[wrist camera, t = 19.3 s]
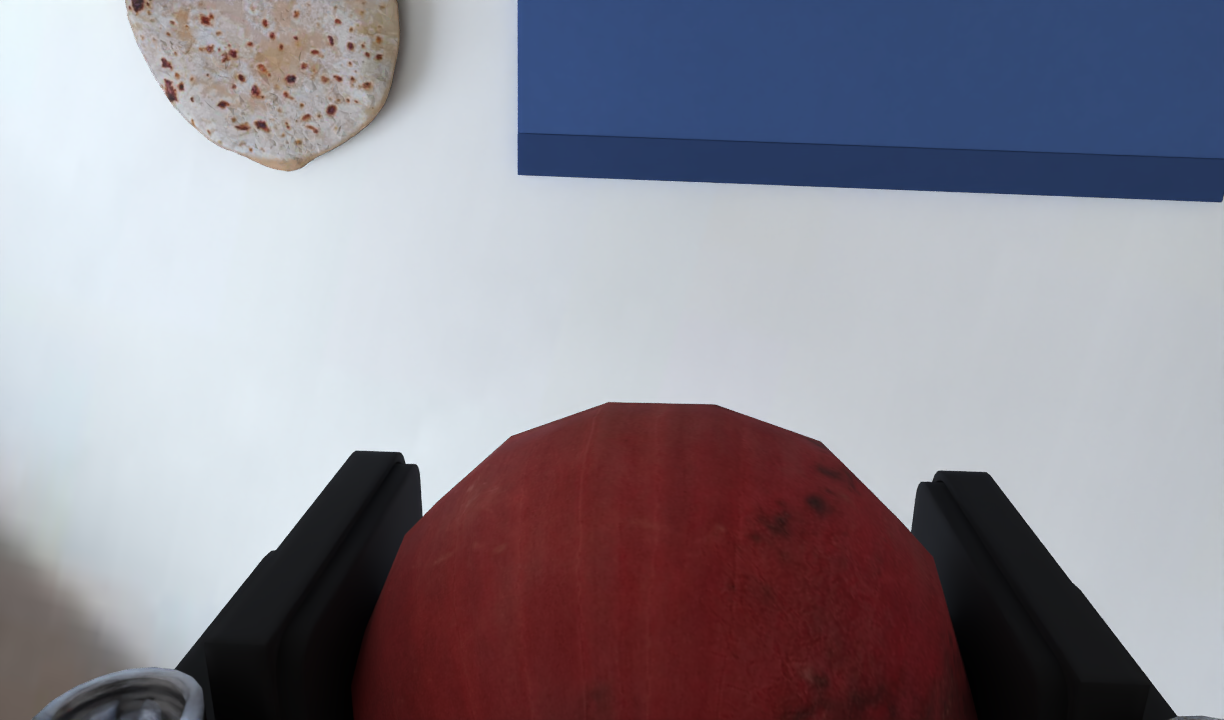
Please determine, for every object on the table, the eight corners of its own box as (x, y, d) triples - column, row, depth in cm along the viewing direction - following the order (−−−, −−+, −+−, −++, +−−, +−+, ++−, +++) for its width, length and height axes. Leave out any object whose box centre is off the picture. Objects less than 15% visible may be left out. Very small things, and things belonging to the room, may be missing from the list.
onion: (806, 250, 11) (1078, 640, 4) (927, 630, 13) (1288, 1437, 5) (385, 398, 12) (-65, 942, 5) (545, 734, 14) (398, 1548, 6)
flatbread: (97, -99, 25) (74, -106, 24) (355, -171, 24) (342, -180, 24) (200, 191, 28) (183, 196, 27) (439, 136, 27) (430, 139, 26)
